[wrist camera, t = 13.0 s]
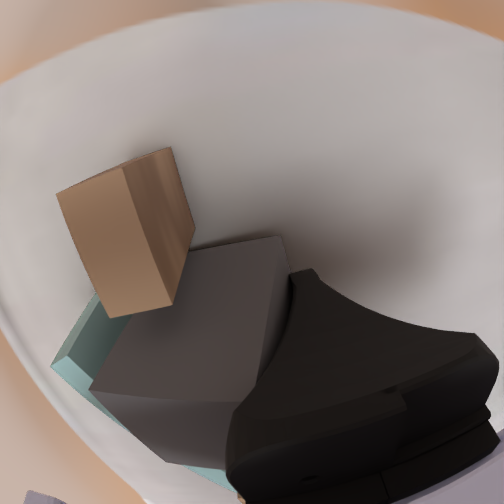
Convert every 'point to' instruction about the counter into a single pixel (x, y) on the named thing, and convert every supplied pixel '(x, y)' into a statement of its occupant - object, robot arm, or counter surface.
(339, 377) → the robot arm
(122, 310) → the wall
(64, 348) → the door
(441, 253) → the counter surface
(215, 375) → the block
